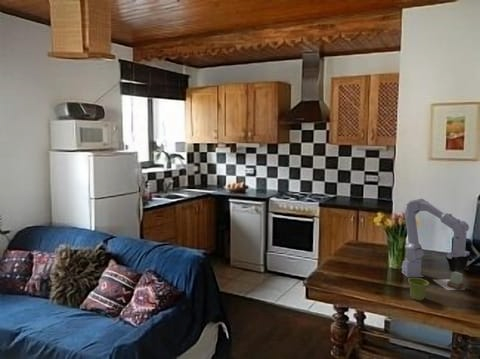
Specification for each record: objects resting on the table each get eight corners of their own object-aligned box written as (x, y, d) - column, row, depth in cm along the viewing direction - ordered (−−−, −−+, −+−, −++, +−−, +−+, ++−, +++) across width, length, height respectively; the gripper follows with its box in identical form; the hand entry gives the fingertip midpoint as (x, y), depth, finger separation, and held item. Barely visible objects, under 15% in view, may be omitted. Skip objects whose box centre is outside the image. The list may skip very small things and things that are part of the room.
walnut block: (457, 289, 206) (457, 285, 206) (447, 285, 211) (447, 281, 211) (465, 288, 208) (465, 283, 208) (454, 283, 214) (455, 279, 214)
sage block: (457, 284, 207) (457, 275, 206) (450, 281, 211) (450, 272, 210) (462, 283, 209) (462, 274, 208) (455, 280, 212) (455, 271, 212)
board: (447, 291, 206) (447, 289, 206) (432, 280, 220) (432, 279, 220) (465, 290, 207) (465, 289, 207) (449, 280, 221) (449, 279, 221)
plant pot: (422, 293, 202) (423, 277, 201) (431, 302, 193) (432, 284, 192) (403, 294, 202) (404, 277, 201) (412, 302, 193) (413, 285, 192)
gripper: (456, 248, 200) (454, 274, 202) (475, 245, 206) (473, 270, 208) (444, 244, 207) (442, 269, 209) (463, 241, 213) (461, 266, 215)
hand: (457, 269), depth 209 cm, fingers open, 7 cm apart
